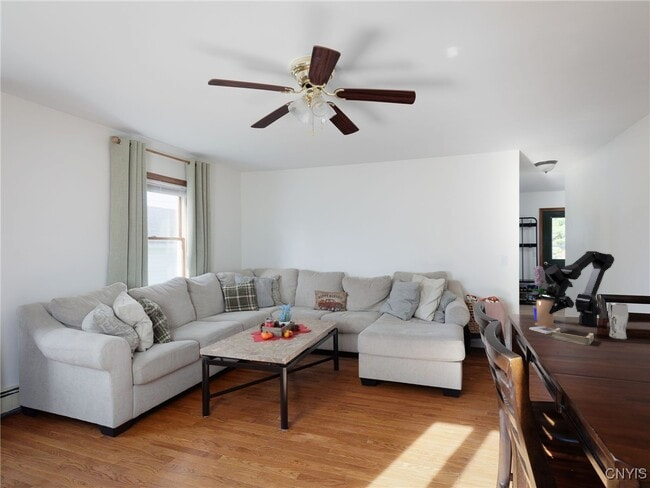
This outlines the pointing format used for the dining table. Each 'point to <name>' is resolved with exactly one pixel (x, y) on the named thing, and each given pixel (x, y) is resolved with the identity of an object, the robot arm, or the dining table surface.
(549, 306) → the peach tapered rounded piece
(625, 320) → the beer glass
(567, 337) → the frame
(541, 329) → the tile
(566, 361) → the dining table surface
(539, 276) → the hyacinth
